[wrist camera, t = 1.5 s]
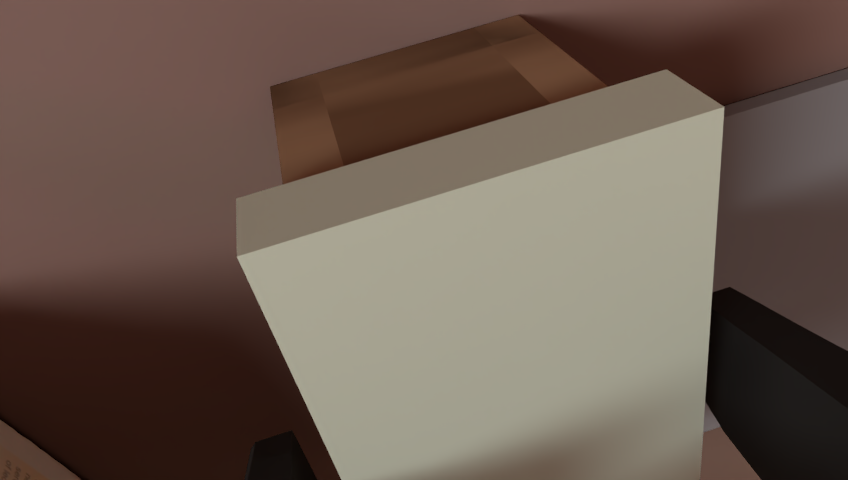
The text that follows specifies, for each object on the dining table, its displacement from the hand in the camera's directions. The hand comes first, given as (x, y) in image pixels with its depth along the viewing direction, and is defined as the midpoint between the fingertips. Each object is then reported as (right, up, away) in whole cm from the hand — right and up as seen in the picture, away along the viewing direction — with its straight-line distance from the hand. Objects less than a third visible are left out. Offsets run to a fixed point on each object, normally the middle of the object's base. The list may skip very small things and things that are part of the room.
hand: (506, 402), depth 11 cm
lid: (0, 0, 0) cm, 0 cm away
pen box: (-1, +2, +3) cm, 4 cm away
